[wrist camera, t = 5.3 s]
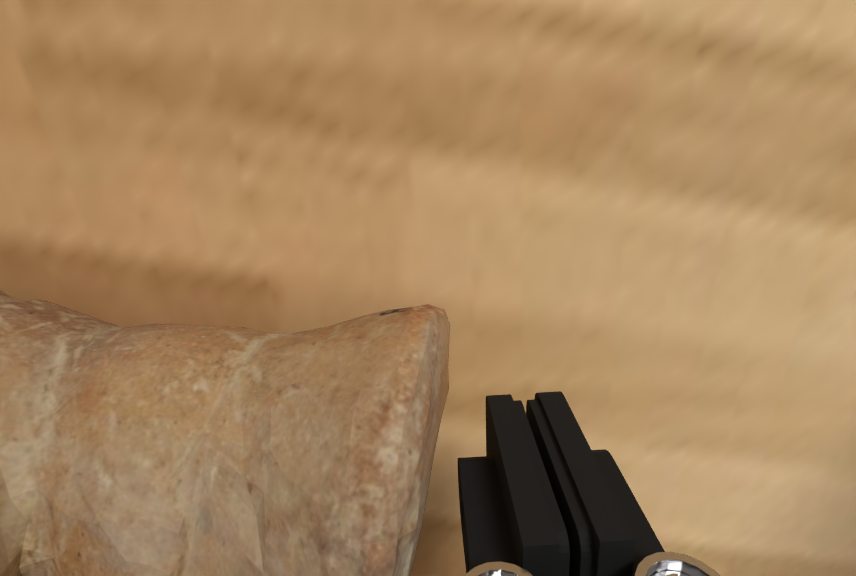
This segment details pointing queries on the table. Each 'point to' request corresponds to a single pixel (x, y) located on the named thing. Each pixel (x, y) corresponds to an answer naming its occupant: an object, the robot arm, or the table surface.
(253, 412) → the pipe
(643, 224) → the table surface
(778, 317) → the table surface
